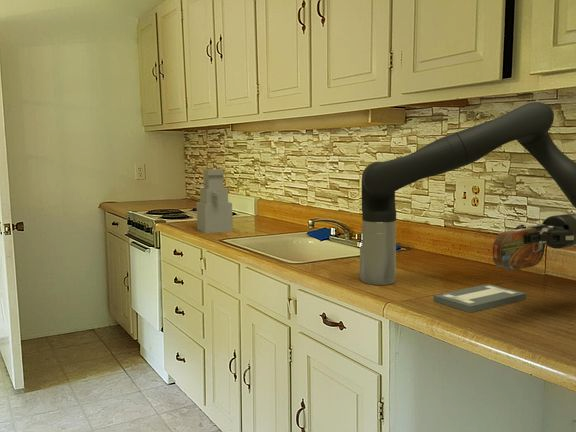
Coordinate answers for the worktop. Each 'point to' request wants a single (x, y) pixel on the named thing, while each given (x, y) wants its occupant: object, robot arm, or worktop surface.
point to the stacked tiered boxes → (214, 204)
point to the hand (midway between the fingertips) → (519, 237)
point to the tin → (516, 250)
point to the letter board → (479, 298)
